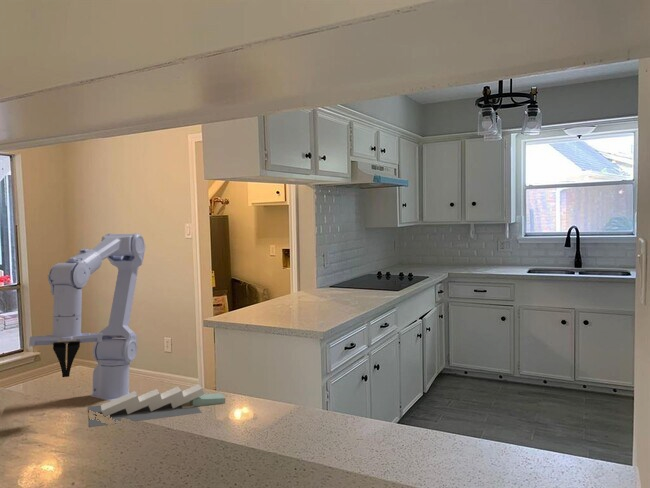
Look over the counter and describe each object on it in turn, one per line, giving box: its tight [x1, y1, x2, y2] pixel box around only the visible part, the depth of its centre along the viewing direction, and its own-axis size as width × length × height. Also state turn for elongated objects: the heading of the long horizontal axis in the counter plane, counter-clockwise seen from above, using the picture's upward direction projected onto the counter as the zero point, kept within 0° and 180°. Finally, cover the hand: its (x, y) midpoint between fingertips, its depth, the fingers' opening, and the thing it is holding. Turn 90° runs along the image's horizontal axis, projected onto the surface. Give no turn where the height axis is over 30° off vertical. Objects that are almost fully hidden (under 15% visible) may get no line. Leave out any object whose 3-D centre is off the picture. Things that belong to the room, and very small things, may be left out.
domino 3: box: [148, 386, 184, 411], centre depth 121 cm, size 2×5×8 cm
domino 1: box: [100, 390, 139, 417], centre depth 116 cm, size 2×5×8 cm
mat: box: [87, 401, 203, 428], centre depth 119 cm, size 24×17×1 cm
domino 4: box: [169, 383, 205, 408], centre depth 123 cm, size 2×5×8 cm
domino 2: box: [126, 388, 162, 414], centre depth 119 cm, size 2×5×8 cm
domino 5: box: [190, 393, 227, 407], centre depth 125 cm, size 2×5×8 cm
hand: (65, 376), depth 112 cm, fingers closed
